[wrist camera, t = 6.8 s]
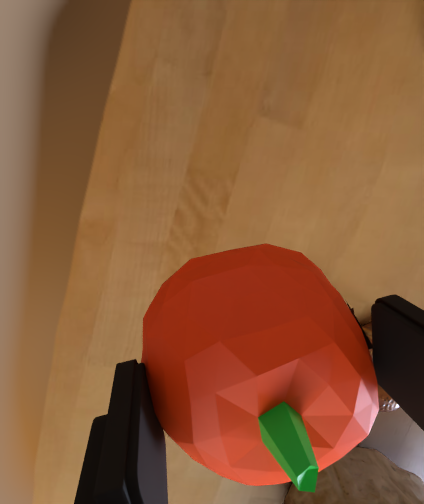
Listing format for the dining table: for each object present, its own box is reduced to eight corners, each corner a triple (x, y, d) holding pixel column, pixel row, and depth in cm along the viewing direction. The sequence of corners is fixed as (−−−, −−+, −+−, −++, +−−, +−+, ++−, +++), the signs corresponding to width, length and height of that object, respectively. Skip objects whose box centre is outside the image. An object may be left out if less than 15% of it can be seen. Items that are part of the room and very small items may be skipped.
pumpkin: (242, 184, 12) (335, 220, 5) (357, 327, 14) (509, 461, 8) (94, 315, 12) (28, 480, 6) (230, 430, 15) (281, 629, 9)
